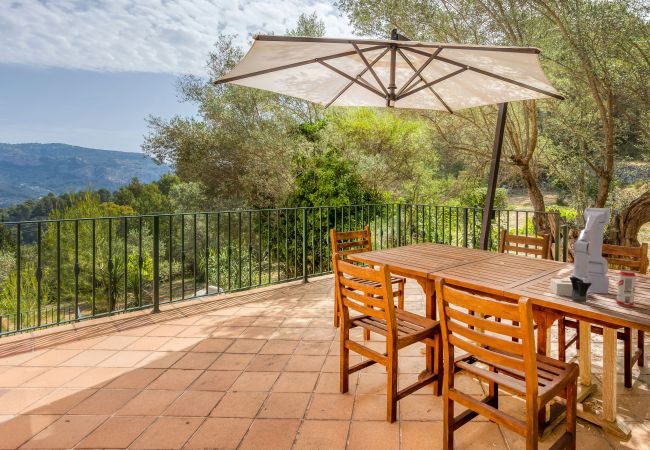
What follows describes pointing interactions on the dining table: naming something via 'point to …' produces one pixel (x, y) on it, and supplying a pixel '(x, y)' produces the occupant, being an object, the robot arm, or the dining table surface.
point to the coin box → (562, 287)
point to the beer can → (626, 288)
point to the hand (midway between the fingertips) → (579, 294)
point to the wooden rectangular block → (578, 296)
